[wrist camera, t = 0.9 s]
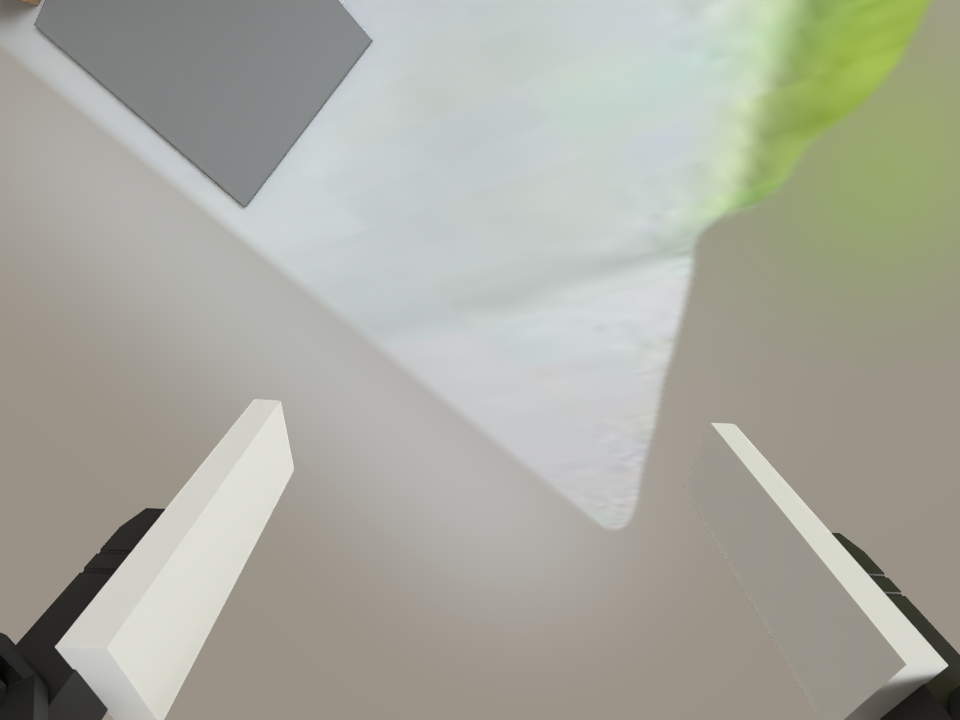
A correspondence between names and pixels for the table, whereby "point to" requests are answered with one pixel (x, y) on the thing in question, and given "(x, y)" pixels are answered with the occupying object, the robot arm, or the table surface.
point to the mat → (215, 71)
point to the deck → (32, 1)
